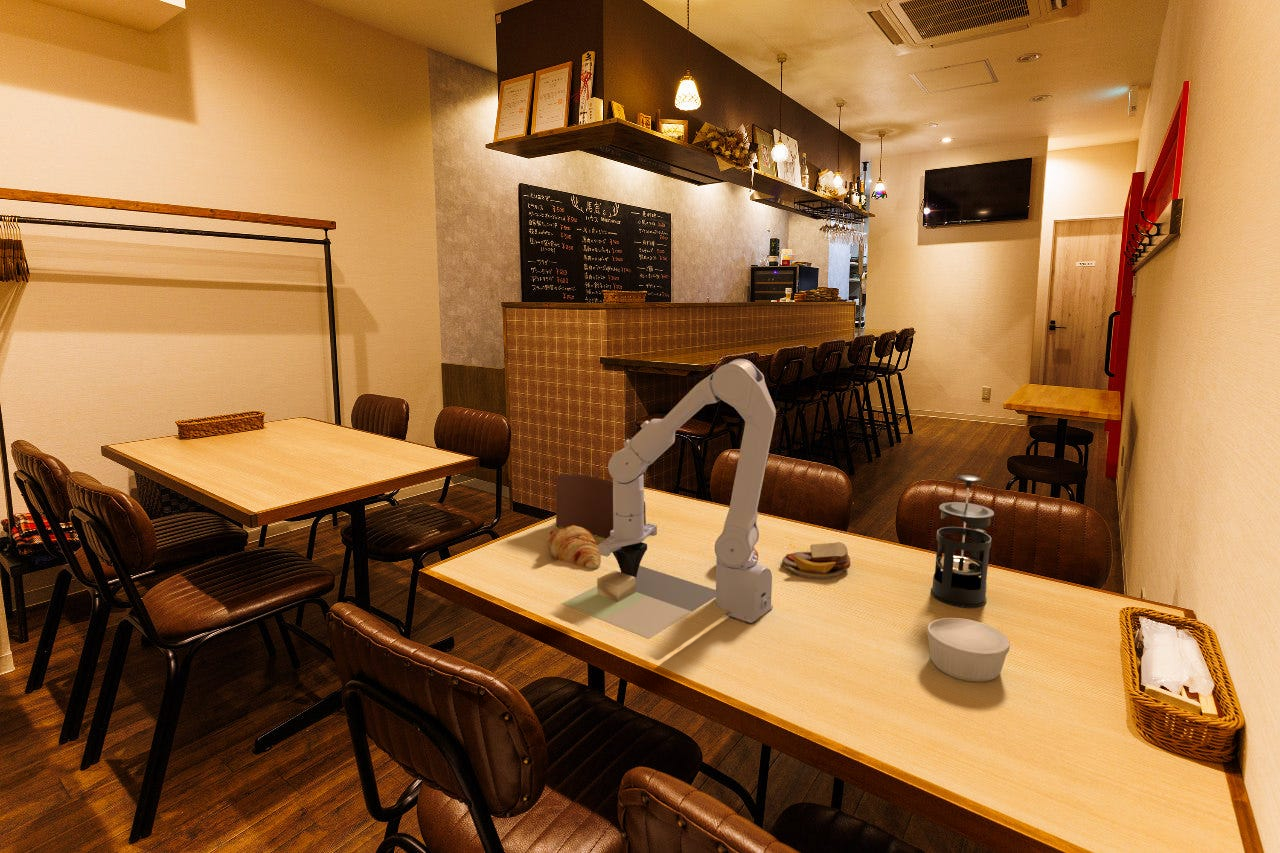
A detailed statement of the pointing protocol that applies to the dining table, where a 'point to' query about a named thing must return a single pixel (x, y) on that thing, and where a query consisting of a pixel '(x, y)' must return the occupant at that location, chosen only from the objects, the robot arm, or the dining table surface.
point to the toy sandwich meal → (819, 561)
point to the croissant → (575, 546)
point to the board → (646, 603)
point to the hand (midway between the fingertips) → (629, 580)
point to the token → (616, 586)
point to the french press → (962, 568)
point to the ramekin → (967, 648)
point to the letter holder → (585, 503)
